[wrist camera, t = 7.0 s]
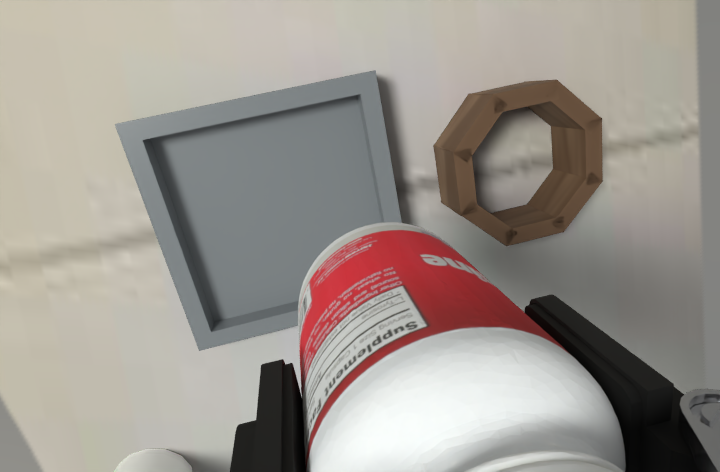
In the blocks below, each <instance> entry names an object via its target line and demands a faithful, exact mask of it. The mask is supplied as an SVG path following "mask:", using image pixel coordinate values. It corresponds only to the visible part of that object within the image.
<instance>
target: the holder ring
mask: <svg viewBox="0 0 720 472" xmlns="http://www.w3.org/2000/svg"><path fill="white" fill-rule="evenodd" d="M522 107H528V108H529V109H531V110H532V111H533V112H534V113H536V114H537V115H538V116H539V117H540V118H542V119H543V120H544V121H545V122H547V123H548V124H549V125H550V126H551V135H552V155H553V170H552V171H551V173H550V174H549V175H548V177H547V178H546V180H545V181H544V182H543V184H542V185H541V186H540V188H539V189H538V190H537V192H536V193H535V194H534V196H533V197H532V198H531V200H530V201H529V203H528V204H527V205H523V206H519V207H515V208H511V209H506V210H502V211H498V212H494V213H489V212H488V211H486V210H485V209H483V208H482V207H480V206H479V205H477V199H476V189H475V180H474V171H473V162H472V155H473V154H474V152H475V151H476V149H477V148H478V146H479V145H480V144H481V142H482V141H483V139H484V138H485V136H486V135H487V133H488V132H489V131H490V129H491V128H492V126H493V125H494V123H495V122H496V121H497V119H498V118H499V116H500V115H501V113H502V112H504V111H509V110H513V109H518V108H522ZM433 147H434V152H435V159H436V167H437V174H438V181H439V188H440V195H441V203H443V204H444V205H446V206H447V207H449V208H450V209H452V210H453V211H455V212H456V213H458V214H459V215H461V216H463V217H464V218H466V219H467V220H469V221H470V222H472V223H473V224H475V225H476V226H478V227H479V228H481V229H482V230H483V231H485V232H486V233H488V234H489V235H491V236H492V237H494V238H495V239H497V240H498V241H500V242H501V243H502V244H504V245H505V246H509V245H513V244H517V243H521V242H525V241H529V240H533V239H537V238H541V237H545V236H549V235H553V234H557V233H561V232H564V231H565V230H566V228H567V227H568V226H569V224H570V223H571V222H572V220H573V219H574V218H575V216H576V215H577V214H578V213H579V211H580V210H581V209H582V207H583V206H584V205H585V203H586V202H587V201H588V199H589V198H590V197H591V196H592V194H593V193H594V192H595V190H596V189H597V188H598V186H599V185H600V184H601V182H602V181H603V180H602V118H600V117H599V116H598V115H597V114H596V113H595V112H593V111H592V110H591V109H590V108H589V107H588V106H587V105H585V104H584V103H583V102H582V101H581V100H580V99H578V98H577V97H576V96H575V95H574V94H573V93H572V92H570V91H569V90H568V89H567V88H566V87H565V86H563V85H562V84H561V83H560V82H559V81H558V80H544V81H528V82H523V83H519V84H514V85H509V86H505V87H500V88H495V89H491V90H486V91H481V92H477V93H472V94H468V96H467V97H466V99H465V100H464V102H463V103H462V105H461V106H460V108H459V109H458V111H457V112H456V114H455V115H454V116H453V118H452V119H451V121H450V122H449V124H448V125H447V127H446V128H445V130H444V131H443V133H442V134H441V136H440V137H439V139H438V140H437V142H436V143H435V145H434V146H433Z"/></svg>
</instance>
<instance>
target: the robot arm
mask: <svg viewBox="0 0 720 472" xmlns="http://www.w3.org/2000/svg"><path fill="white" fill-rule="evenodd" d="M525 314H526V315H527V316H529V317H530V318H531V319H532V320H533V321H534V322H535V323H536V324H538V325H539V326H540V327H541V328H542V329H543V330H544V331H545V332H546V333H548V334H549V335H550V336H551V337H552V338H553V339H554V340H556V341H557V342H558V343H559V344H560V345H561V346H562V347H563V348H564V349H565V350H566V351H567V352H568V353H569V354H571V355H572V356H573V357H574V358H575V359H576V360H577V361H578V362H579V363H580V364H581V365H582V366H583V367H584V368H585V369H586V370H587V371H588V372H589V373H590V374H591V375H592V377H593V378H594V379H595V380H596V381H597V383H598V384H599V385H600V386H601V388H602V390H603V391H604V393H605V394H606V396H607V398H608V399H609V401H610V403H611V405H612V407H613V409H614V412H615V414H616V416H617V418H618V421H619V425H620V428H621V432H622V437H623V442H624V448H625V462H626V467H625V472H720V390H713V389H697V390H693V391H690V392H687V393H686V394H685V395H684V394H683V393H681V392H680V391H679V390H677V389H676V388H675V387H674V384H673V383H671V382H670V381H669V380H667V379H666V378H665V377H663V376H662V375H661V374H659V373H658V372H657V371H655V370H654V369H653V368H651V367H650V366H649V365H647V364H646V363H645V362H643V361H642V360H641V359H639V358H638V357H636V356H635V355H634V354H632V353H631V352H630V351H628V350H627V349H626V348H624V347H623V346H622V345H620V344H619V343H618V342H616V341H615V340H614V339H612V338H611V337H610V336H608V335H607V334H606V333H604V332H603V331H602V330H600V329H599V328H598V327H596V326H595V325H593V324H592V323H591V322H589V321H588V320H587V319H585V318H584V317H583V316H581V315H580V314H579V313H577V312H576V311H575V310H573V309H572V308H571V307H569V306H568V305H567V304H565V303H564V302H563V301H561V300H560V299H559V298H557V297H556V296H554V295H547V296H543V297H539V298H535V299H532V300H531V301H530V304H529V306H526V307H525ZM305 471H306V465H305V447H304V424H303V409H302V397H301V393H300V389H299V386H298V382H297V378H296V374H295V370H294V367H293V364H292V363H290V364H286V365H285V363H284V360H283V359H282V360H278V361H274V362H270V363H266V364H262V365H261V374H260V385H259V396H258V407H257V418H256V420H255V421H251V422H247V423H243V424H239V425H238V426H237V429H236V434H235V441H234V448H233V455H232V461H231V468H230V472H305Z"/></svg>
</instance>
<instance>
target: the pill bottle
mask: <svg viewBox="0 0 720 472" xmlns="http://www.w3.org/2000/svg"><path fill="white" fill-rule="evenodd" d="M298 331H299V346H300V367H301V385H302V387H301V391H302V409H303V424H304V447H305V465H306V471H305V472H625V467H626V462H625V448H624V442H623V437H622V432H621V428H620V425H619V421H618V418H617V416H616V414H615V412H614V409H613V407H612V405H611V403H610V401H609V399H608V398H607V396H606V394H605V393H604V391H603V390H602V388H601V386H600V385H599V384H598V383H597V381H596V380H595V379H594V378H593V377H592V375H591V374H590V373H589V372H588V371H587V370H586V369H585V368H584V367H583V366H582V365H581V364H580V363H579V362H578V361H577V360H576V359H575V358H574V357H573V356H572V355H571V354H569V353H568V352H567V351H566V350H565V349H564V348H563V347H562V346H561V345H560V344H559V343H558V342H557V341H556V340H554V339H553V338H552V337H551V336H550V335H549V334H548V333H546V332H545V331H544V330H543V329H542V328H541V327H540V326H539V325H538V324H536V323H535V322H534V321H533V320H532V319H531V318H530V317H529V316H527V315H526V314H525V313H524V312H523V311H522V310H521V309H520V308H519V307H517V306H516V305H515V304H514V303H513V302H512V301H511V300H510V299H509V298H507V297H506V296H505V295H504V294H503V293H502V292H501V291H500V290H499V289H498V288H497V287H495V286H494V285H493V284H492V283H491V282H490V281H489V280H488V279H486V278H485V277H484V276H483V275H482V274H481V273H480V272H479V271H478V270H477V269H475V268H474V267H473V266H472V265H471V264H470V263H469V262H468V261H467V260H466V259H464V258H463V257H462V256H461V255H460V254H459V253H458V252H457V251H455V250H454V249H453V248H452V247H451V246H450V245H449V244H448V243H446V242H445V241H443V240H442V239H441V238H439V237H438V236H436V235H435V234H433V233H431V232H429V231H427V230H425V229H423V228H421V227H418V226H415V225H410V224H405V223H398V222H385V223H376V224H371V225H367V226H363V227H360V228H357V229H355V230H353V231H351V232H348V233H346V234H345V235H343V236H341V237H340V238H338V239H337V240H335V241H334V242H333V243H331V244H330V245H329V246H328V247H327V248H326V249H325V250H324V251H323V252H322V253H321V254H320V255H319V256H318V257H317V258H316V260H315V261H314V263H313V264H312V266H311V267H310V269H309V271H308V273H307V275H306V277H305V279H304V281H303V285H302V288H301V291H300V296H299V304H298Z"/></svg>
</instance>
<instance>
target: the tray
mask: <svg viewBox="0 0 720 472" xmlns="http://www.w3.org/2000/svg"><path fill="white" fill-rule="evenodd" d="M115 126H116V129H117V132H118V134H119V137H120V140H121V143H122V145H123V148H124V151H125V153H126V156H127V159H128V161H129V164H130V167H131V169H132V172H133V175H134V177H135V180H136V183H137V185H138V188H139V191H140V193H141V196H142V199H143V201H144V204H145V207H146V209H147V212H148V215H149V218H150V220H151V223H152V226H153V228H154V231H155V234H156V236H157V239H158V242H159V244H160V247H161V250H162V252H163V255H164V258H165V260H166V263H167V266H168V268H169V271H170V274H171V276H172V279H173V282H174V284H175V287H176V290H177V293H178V295H179V298H180V301H181V303H182V306H183V309H184V311H185V314H186V317H187V319H188V322H189V325H190V327H191V330H192V333H193V335H194V338H195V341H196V343H197V346H198V349H199V351H201V350H204V349H208V348H212V347H216V346H220V345H224V344H228V343H232V342H236V341H240V340H243V339H247V338H251V337H255V336H259V335H263V334H267V333H271V332H275V331H279V330H282V329H286V328H290V327H294V326H298V304H299V296H300V291H301V288H302V285H303V281H304V279H305V277H306V275H307V273H308V271H309V269H310V267H311V266H312V264H313V263H314V261H315V260H316V258H317V257H318V256H319V255H320V254H321V253H322V252H323V251H324V250H325V249H326V248H327V247H328V246H329V245H330V244H331V243H333V242H334V241H335V240H337V239H338V238H340V237H341V236H343V235H345V234H346V233H348V232H351V231H353V230H355V229H357V228H360V227H363V226H367V225H371V224H376V223H385V222H398V223H402V221H401V215H400V209H399V204H398V198H397V192H396V186H395V180H394V175H393V169H392V163H391V157H390V151H389V146H388V140H387V134H386V128H385V122H384V117H383V111H382V105H381V99H380V93H379V88H378V82H377V76H376V70H374V71H370V72H365V73H360V74H355V75H350V76H345V77H341V78H336V79H331V80H326V81H321V82H316V83H311V84H307V85H302V86H297V87H292V88H287V89H282V90H278V91H273V92H268V93H263V94H258V95H253V96H249V97H244V98H239V99H234V100H229V101H224V102H219V103H215V104H210V105H205V106H200V107H195V108H190V109H186V110H181V111H176V112H171V113H166V114H161V115H156V116H152V117H147V118H142V119H137V120H132V121H127V122H123V123H118V124H115Z"/></svg>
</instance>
